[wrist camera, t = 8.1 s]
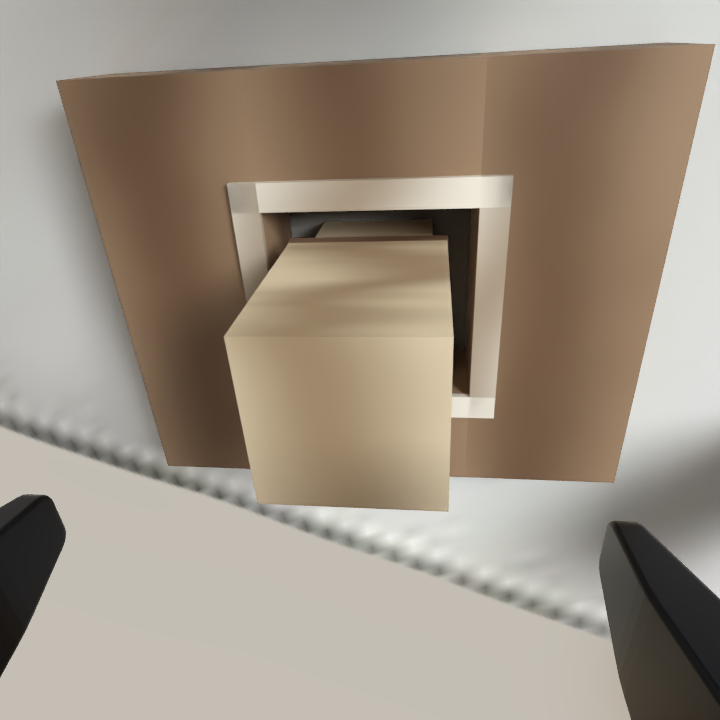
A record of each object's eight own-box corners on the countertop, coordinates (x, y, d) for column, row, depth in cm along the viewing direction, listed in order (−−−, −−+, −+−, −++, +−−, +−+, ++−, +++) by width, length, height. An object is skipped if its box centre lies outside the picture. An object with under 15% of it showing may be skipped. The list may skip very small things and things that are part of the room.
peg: (445, 206, 18) (454, 336, 10) (443, 329, 20) (449, 512, 12) (310, 209, 18) (222, 335, 11) (322, 329, 21) (256, 504, 13)
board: (667, 42, 15) (718, 44, 12) (592, 429, 22) (615, 486, 19) (113, 74, 17) (51, 81, 14) (197, 418, 24) (166, 469, 21)
